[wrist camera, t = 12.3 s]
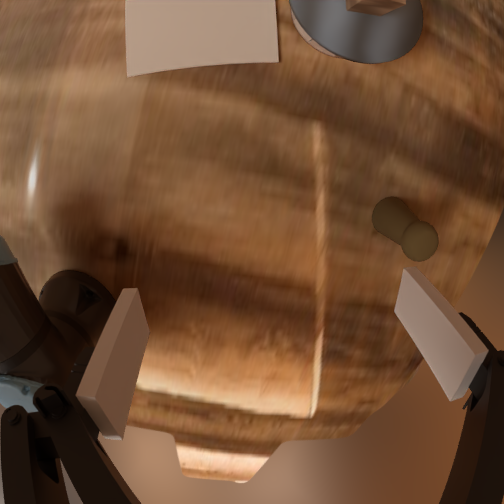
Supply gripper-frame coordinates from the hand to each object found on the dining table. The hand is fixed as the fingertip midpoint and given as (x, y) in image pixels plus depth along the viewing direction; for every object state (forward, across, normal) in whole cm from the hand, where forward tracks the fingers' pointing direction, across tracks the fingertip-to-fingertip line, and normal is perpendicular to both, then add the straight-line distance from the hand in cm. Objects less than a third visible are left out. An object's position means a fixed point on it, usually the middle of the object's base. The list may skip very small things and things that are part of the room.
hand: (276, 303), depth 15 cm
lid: (+22, +13, +22) cm, 34 cm away
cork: (+29, +21, -7) cm, 36 cm away
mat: (+29, -5, +24) cm, 38 cm away
